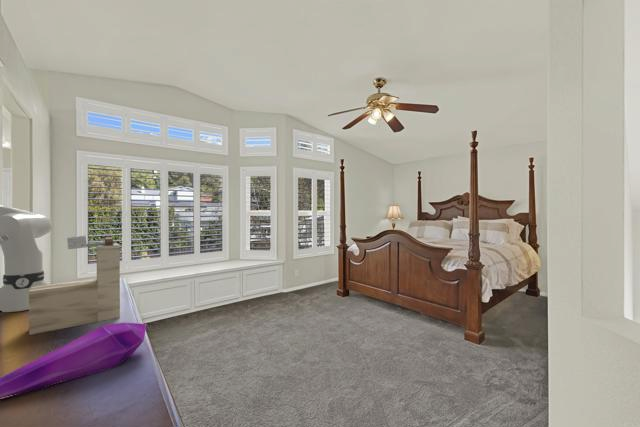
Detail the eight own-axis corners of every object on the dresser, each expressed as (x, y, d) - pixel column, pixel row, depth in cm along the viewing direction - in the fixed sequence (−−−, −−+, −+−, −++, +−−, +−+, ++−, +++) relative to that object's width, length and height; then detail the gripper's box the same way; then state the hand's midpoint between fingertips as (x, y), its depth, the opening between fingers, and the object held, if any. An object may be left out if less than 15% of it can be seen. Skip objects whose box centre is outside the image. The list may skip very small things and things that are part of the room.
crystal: (-7, 384, 56) (158, 319, 78) (-7, 359, 66) (140, 308, 88) (3, 424, 57) (163, 349, 79) (1, 394, 67) (144, 334, 89)
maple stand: (31, 327, 98) (31, 241, 98) (117, 311, 114) (117, 237, 114) (29, 335, 92) (28, 242, 92) (120, 317, 108) (119, 238, 107)
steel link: (68, 249, 100) (67, 237, 99) (68, 248, 103) (67, 237, 102) (114, 244, 108) (113, 233, 108) (113, 243, 111) (112, 232, 111)
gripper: (-80, 259, 75) (-11, 230, 82) (-53, 251, 90) (3, 228, 98) (-61, 278, 77) (5, 249, 84) (-37, 267, 92) (17, 243, 100)
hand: (4, 237), depth 91 cm, fingers open, 8 cm apart
